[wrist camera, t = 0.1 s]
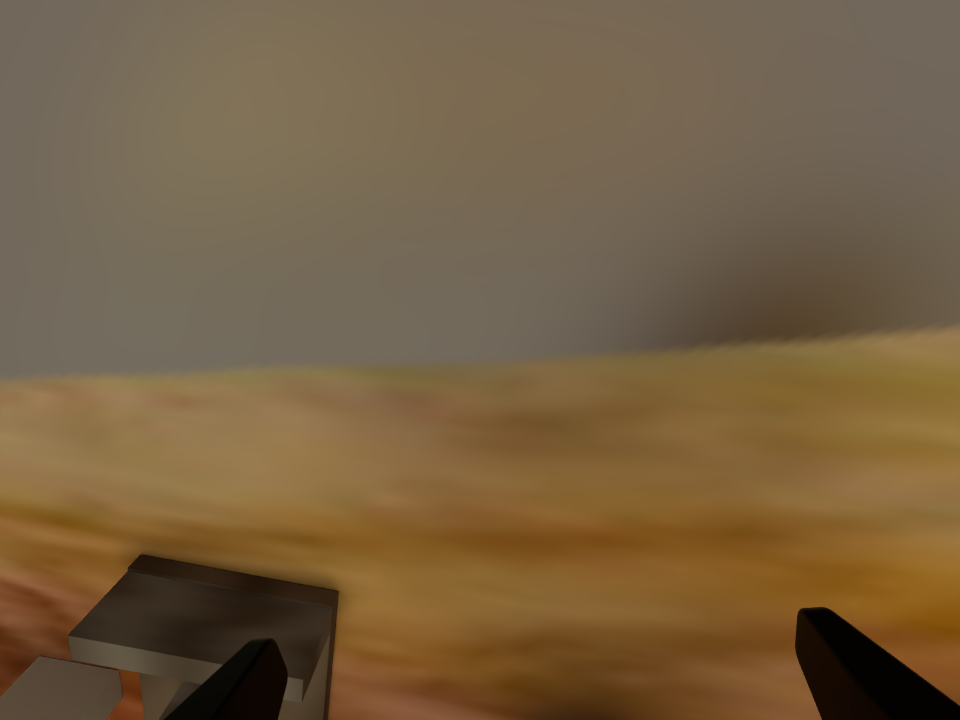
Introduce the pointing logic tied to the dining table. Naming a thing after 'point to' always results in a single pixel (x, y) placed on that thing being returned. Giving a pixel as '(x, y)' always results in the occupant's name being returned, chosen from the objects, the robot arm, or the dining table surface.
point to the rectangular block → (62, 692)
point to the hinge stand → (208, 632)
